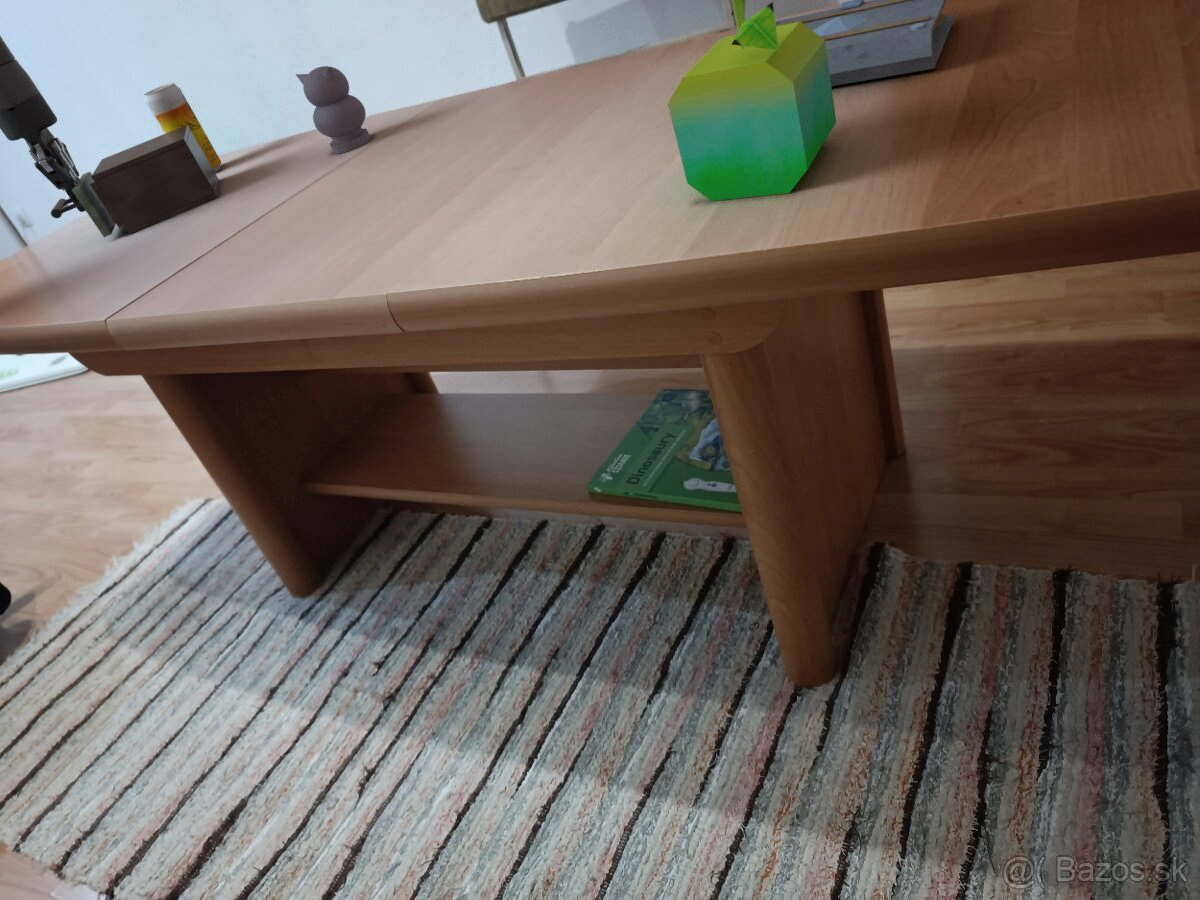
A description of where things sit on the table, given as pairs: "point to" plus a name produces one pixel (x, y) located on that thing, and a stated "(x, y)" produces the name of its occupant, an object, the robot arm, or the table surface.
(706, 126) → the apple
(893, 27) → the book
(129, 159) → the cabinet
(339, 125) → the cat figurine
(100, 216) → the drawer
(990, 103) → the table surface
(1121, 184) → the table surface
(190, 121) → the beer can
